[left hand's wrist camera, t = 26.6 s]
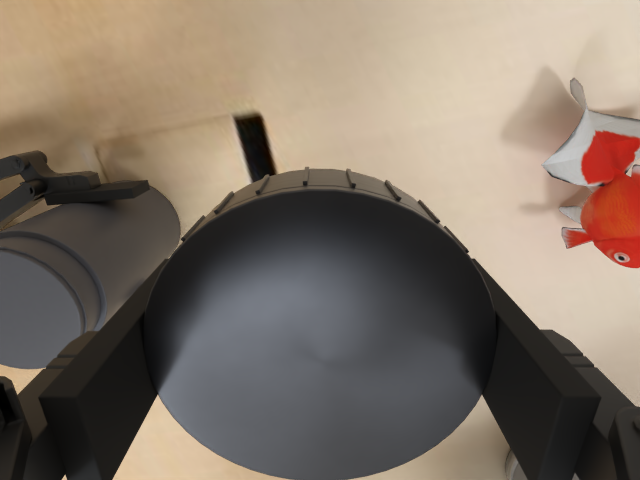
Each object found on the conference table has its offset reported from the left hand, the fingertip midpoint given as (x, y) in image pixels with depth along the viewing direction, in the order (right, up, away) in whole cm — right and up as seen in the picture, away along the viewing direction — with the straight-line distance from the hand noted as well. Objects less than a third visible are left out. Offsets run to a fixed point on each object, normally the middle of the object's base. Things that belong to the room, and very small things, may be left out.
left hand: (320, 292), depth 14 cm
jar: (-18, +3, +22) cm, 29 cm away
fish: (+23, +9, +20) cm, 32 cm away
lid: (0, -1, -3) cm, 4 cm away
